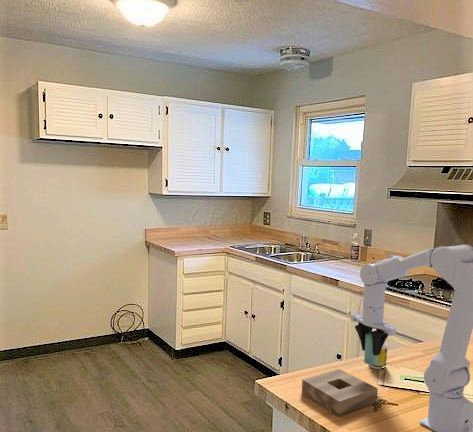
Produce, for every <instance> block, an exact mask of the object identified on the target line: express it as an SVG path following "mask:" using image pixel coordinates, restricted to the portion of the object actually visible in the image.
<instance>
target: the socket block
mask: <svg viewBox="0 0 473 432" xmlns="http://www.w3.org/2000/svg"><path fill="white" fill-rule="evenodd" d="M378 390H379V389H378V387H376V386H374V385H372V384H370V383H368V382H366V381H364V380H362V379H360V378H358V377H356V376H355V375H352V374H351V373H348V372H346V371H344V370H342V369H341V368H337V369H333V370H330V371H327V372H324V373H320V374H317V375H313V376H309V377H307V378H303V379H302V380H301V394H302V395H303V396H305V397H306V398H307V399H309V400H311V401H313V402H314V401H315V402H314V403H316V402H317V403H318V405H319V404H320V406H321V407H322V408H324V409H325V408H326V409H325V410H327V411H328V412H330V411H331V412H330V413H332V414H333V413H334V414H333V415H334V416H336V415H337V416H336V417H338V416H340V417H342V415H343V416H345V415H348V414H351V413H353V412H356V411H359V410H362V409H365V408H367V407H370V406H372V405H375V404H378V392H379V391H378ZM317 403H316V404H317Z"/></svg>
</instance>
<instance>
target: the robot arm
mask: <svg viewBox="0 0 473 432" xmlns="http://www.w3.org/2000/svg"><path fill="white" fill-rule="evenodd" d="M425 266H427V267H428V268H432V269H433V270H434V271H436V273H438V275H439V276H441V278H442V279H444V280H445V282H447V284H449V285H450V286H451V287H452V288H453V290H454V292H453V295H452V296H453V297H452V300H451V304H450V309H449V313H448V316H447V321H446V323H445V324H446V325H445V328H444V332H443V337H442V341H441V345H440V349H439V351H438V352H437V353H436V354H435V355H434V356H433V358H432V359H431V360H430V364H429V366H428V367H427V368H426V369H425V370H424V373H423V379H424V383H425V386H426V387H427V389H428V390H427V391H429V393H428V408H427V409H428V411H427V417H425V418H423V419H420V420H419V424H421V425H423V426H424V427H426V428H429V429H430V430H432V431H434V432H473V401H471V400H470V399H468V398H467V397H465V395H464V391H465V387H466V386H468V384H469V383H470V381H471V371H470V366H471V362H470V361H469V359H468V358H467V357H466V355H467V351H468V347H469V343H470V339H471V336H472V332H473V246H471V245H469V244H460V245H452V246H437V247H433V248H426V249H425V250H422V251H419V252H417V253H414V254H411V255H409V256H406V257H403V256H401V255H396V254H390V255H388V258H385V259H383V260H382V259H378V260H376V261H375V263H365V264H364V265H362V266H361V268H360V271H359V276H360V280H361V281H362V283H363V297H362V300H363V301H362V314H358V313H352V314H350V321H351V322H356V323H358V324H356V325H355V326H354V329H355V331H356V332H357V335H358V337H359V340H360V344H361V346H360V347H361V350H362V351H364V352H365V336H366V333H371V335H372V340H373V355H374V356H377V355H380V352H381V349H382V346H383V344H384V342H385V343H386V341H385V340H387V338H389V336H391V337H392V336H395V335H396V334H397V333H396V332H397V327H394V326H393V325H391V324H389V323H387V322H386V321H385V319H384V317H385V316H384V314H385V295H386V289H387V285H388V282H389V281H393V280H397V279H400V278H404V277H406V276H407V275H408V273H409V271H410V270H413V269H417V268H422V267H425ZM373 329H375V330H373Z"/></svg>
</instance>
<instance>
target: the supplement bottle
mask: <svg viewBox="0 0 473 432" xmlns="http://www.w3.org/2000/svg"><path fill="white" fill-rule="evenodd" d="M386 340H387V339H386ZM386 340H385V342H384V344H383V346H382V349H381V352H380V355H377V364H375V365H370V364H368V366H369V367H370V368H371V369H375V370H376V369H377V370H382V369H381V368H382V367H383V366H386V367H387V358H388V357H387V356H388V344H387V343H386Z"/></svg>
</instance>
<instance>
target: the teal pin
mask: <svg viewBox="0 0 473 432" xmlns="http://www.w3.org/2000/svg"><path fill="white" fill-rule="evenodd" d="M363 357H364V358H363V359H364V360H363V362H364V364H366V365H369V364H370V365H375V364H377V356H374V355H373V340H372V335H371V333H366V336H365V351H364V355H363Z"/></svg>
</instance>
